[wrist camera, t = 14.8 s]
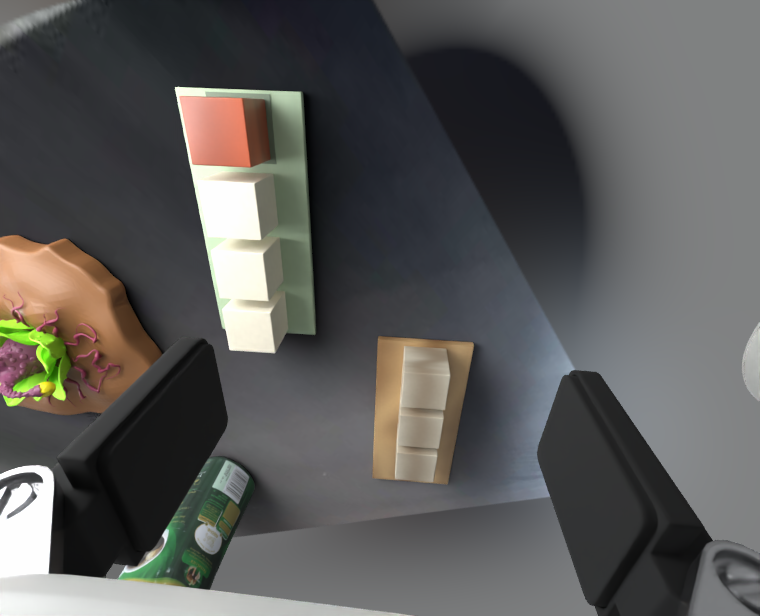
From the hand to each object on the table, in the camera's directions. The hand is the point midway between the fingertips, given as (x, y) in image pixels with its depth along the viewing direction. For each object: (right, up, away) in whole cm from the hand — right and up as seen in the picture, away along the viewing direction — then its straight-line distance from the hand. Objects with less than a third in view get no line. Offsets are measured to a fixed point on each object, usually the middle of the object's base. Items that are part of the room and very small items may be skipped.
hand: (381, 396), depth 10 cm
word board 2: (+4, -9, +30) cm, 32 cm away
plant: (-33, 0, +28) cm, 43 cm away
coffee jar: (-20, -19, +38) cm, 47 cm away
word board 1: (-10, +9, +21) cm, 25 cm away
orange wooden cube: (-10, +15, +17) cm, 25 cm away
